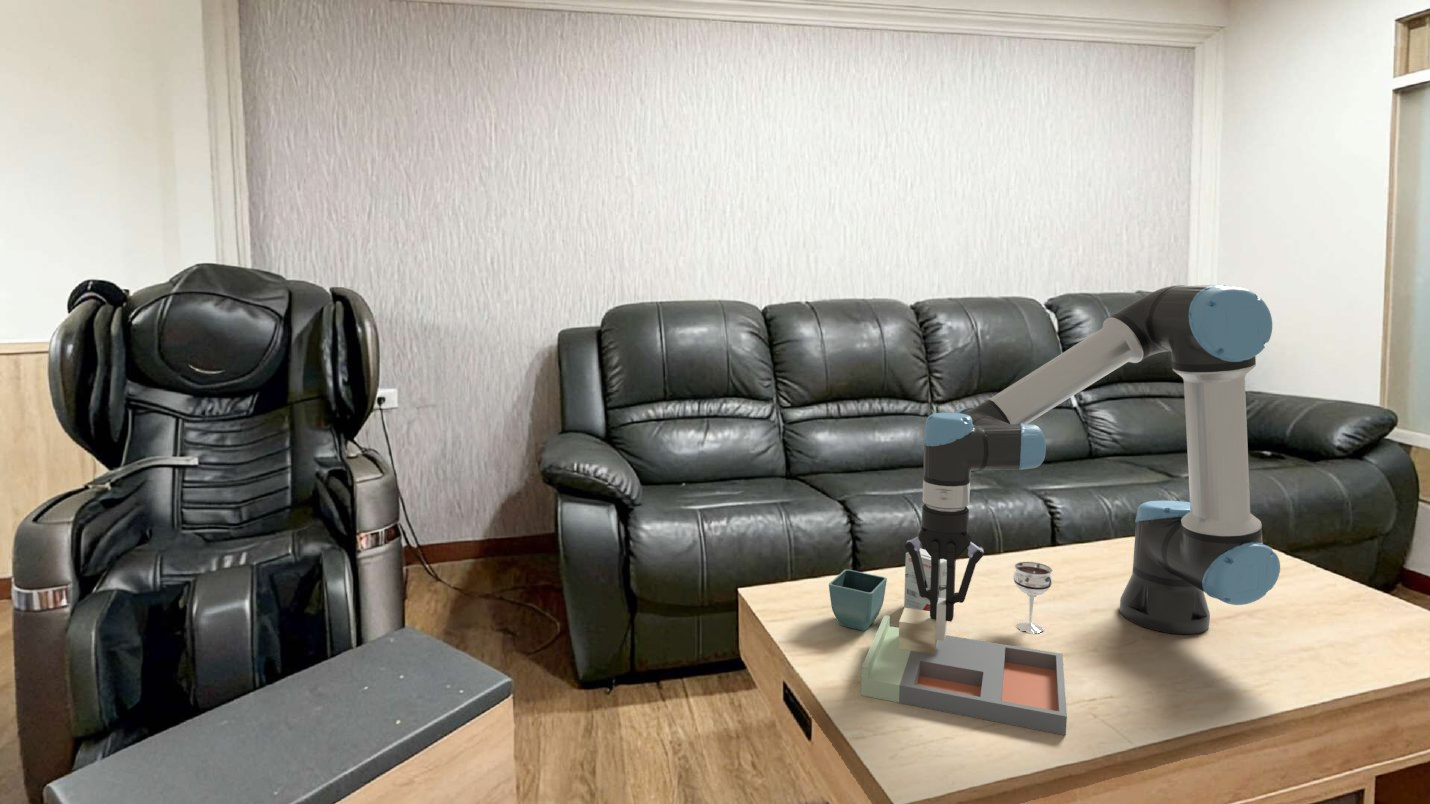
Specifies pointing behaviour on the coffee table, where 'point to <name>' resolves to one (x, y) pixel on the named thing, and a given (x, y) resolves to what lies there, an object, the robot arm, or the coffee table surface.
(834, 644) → the coffee table surface
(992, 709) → the grey compartment tray
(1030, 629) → the wineglass
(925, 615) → the birch block
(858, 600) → the flower pot
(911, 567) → the ink box
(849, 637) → the coffee table surface
